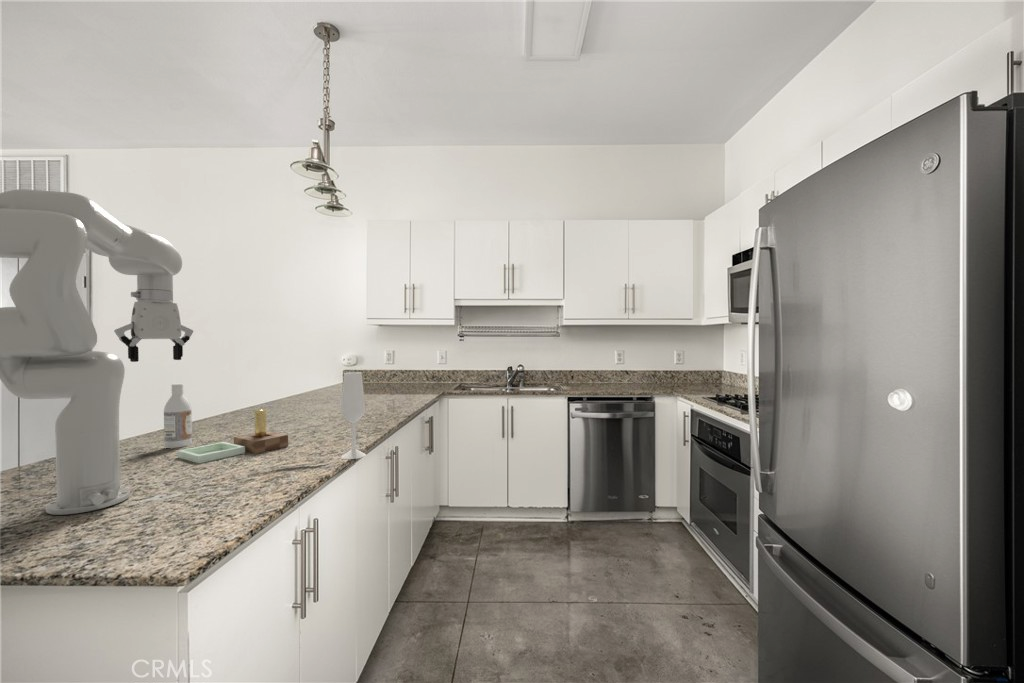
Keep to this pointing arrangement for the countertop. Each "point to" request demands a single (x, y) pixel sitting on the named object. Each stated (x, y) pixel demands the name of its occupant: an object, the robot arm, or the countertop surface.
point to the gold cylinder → (260, 423)
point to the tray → (211, 452)
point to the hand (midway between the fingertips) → (156, 360)
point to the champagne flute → (353, 407)
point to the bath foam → (177, 419)
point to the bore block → (262, 442)
